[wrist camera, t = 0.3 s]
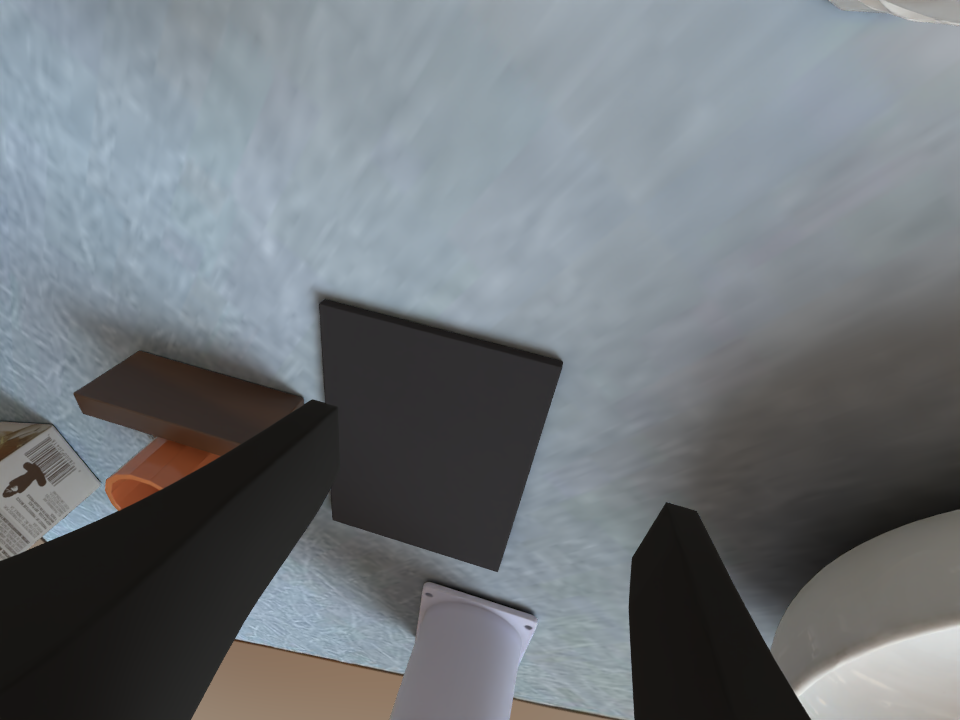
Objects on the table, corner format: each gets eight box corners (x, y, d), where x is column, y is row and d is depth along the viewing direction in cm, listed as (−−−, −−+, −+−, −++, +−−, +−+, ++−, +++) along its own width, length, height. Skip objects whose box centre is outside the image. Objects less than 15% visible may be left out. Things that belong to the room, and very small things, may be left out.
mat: (499, 565, 29) (497, 572, 29) (336, 514, 31) (332, 520, 30) (563, 360, 20) (562, 367, 20) (324, 298, 21) (318, 303, 21)
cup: (278, 473, 30) (211, 557, 25) (202, 450, 30) (123, 527, 25) (268, 411, 26) (189, 494, 22) (184, 387, 27) (90, 461, 22)
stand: (314, 503, 30) (278, 557, 27) (176, 459, 32) (126, 507, 28) (304, 397, 25) (257, 449, 22) (139, 349, 26) (71, 393, 23)
